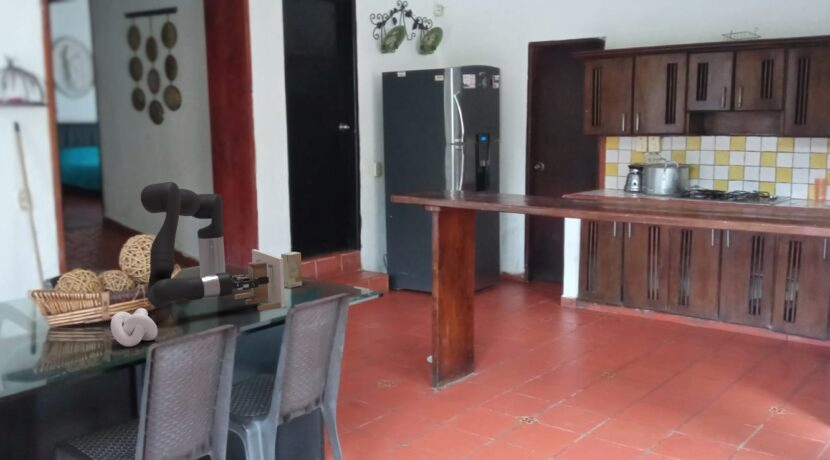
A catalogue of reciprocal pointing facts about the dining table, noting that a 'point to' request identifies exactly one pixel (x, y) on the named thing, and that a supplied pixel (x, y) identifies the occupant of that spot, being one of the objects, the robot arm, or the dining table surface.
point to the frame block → (256, 272)
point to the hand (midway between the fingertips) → (264, 278)
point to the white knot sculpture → (133, 327)
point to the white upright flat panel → (275, 281)
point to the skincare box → (292, 269)
